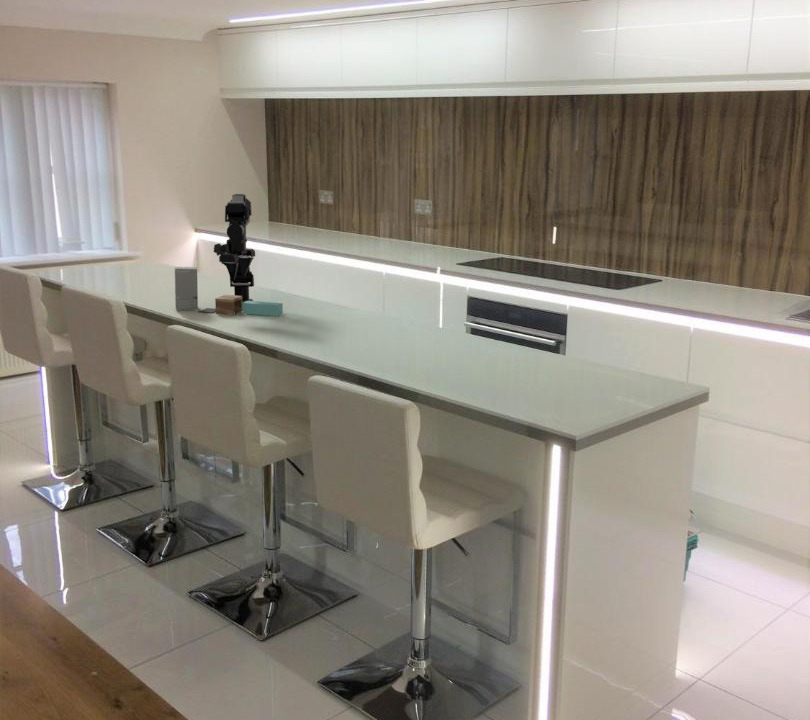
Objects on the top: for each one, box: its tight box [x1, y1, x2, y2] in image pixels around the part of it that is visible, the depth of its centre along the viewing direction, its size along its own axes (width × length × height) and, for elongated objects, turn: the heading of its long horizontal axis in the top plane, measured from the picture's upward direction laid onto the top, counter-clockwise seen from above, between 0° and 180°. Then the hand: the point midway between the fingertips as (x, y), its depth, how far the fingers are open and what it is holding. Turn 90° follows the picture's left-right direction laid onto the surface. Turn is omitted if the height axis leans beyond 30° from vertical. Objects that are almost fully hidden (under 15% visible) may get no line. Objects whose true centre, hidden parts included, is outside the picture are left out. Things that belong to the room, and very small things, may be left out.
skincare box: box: [174, 266, 199, 311], centre depth 337 cm, size 8×7×16 cm
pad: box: [242, 313, 285, 319], centre depth 329 cm, size 8×13×1 cm, turn 74°
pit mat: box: [197, 307, 216, 314], centre depth 335 cm, size 7×6×1 cm
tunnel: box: [214, 294, 243, 316], centre depth 332 cm, size 8×7×6 cm
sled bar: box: [242, 300, 284, 316], centre depth 329 cm, size 4×14×4 cm, turn 74°
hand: (238, 278), depth 335 cm, fingers open, 9 cm apart
